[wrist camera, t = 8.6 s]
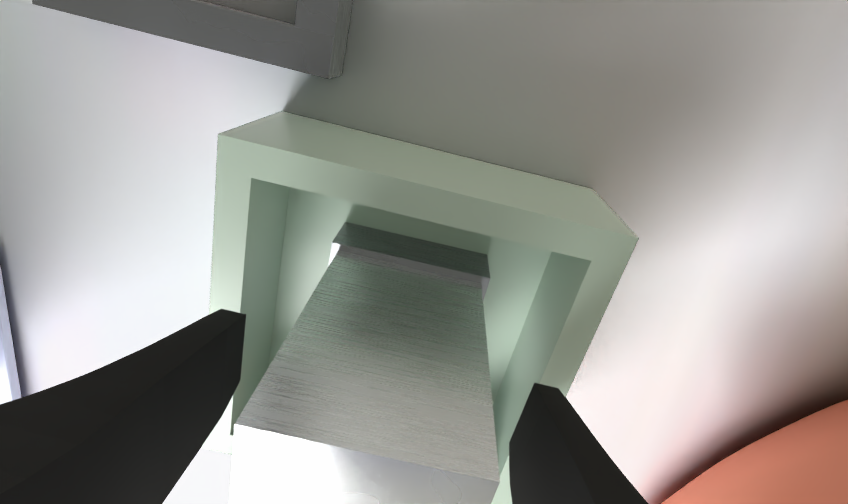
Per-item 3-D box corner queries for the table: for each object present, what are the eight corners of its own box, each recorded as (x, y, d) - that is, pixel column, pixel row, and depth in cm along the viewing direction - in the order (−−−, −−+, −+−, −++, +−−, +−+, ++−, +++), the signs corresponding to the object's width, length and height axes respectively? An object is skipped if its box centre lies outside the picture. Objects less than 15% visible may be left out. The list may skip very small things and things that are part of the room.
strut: (326, 340, 16) (212, 592, 9) (345, 221, 14) (220, 411, 7) (452, 368, 16) (446, 640, 9) (487, 254, 14) (516, 475, 7)
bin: (255, 365, 18) (202, 448, 14) (281, 111, 14) (217, 133, 10) (499, 422, 18) (509, 517, 14) (592, 188, 14) (639, 238, 10)
